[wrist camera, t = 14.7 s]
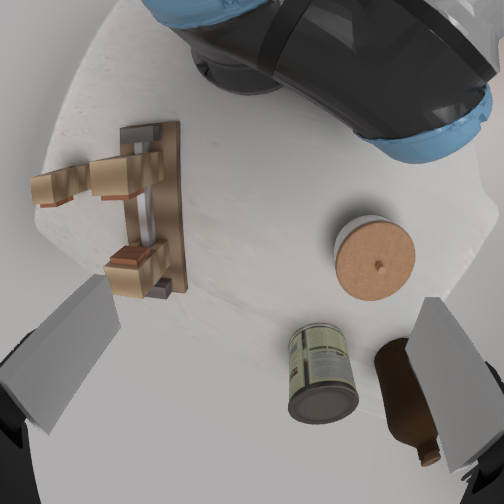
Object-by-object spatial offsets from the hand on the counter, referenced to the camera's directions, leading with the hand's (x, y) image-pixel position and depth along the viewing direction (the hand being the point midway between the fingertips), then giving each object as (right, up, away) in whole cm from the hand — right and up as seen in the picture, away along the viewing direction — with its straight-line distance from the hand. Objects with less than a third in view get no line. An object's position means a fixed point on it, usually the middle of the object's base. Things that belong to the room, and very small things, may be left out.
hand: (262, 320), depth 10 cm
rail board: (-15, +9, +29) cm, 34 cm away
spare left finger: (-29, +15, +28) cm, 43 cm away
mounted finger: (-15, +14, +25) cm, 33 cm away
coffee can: (+11, -14, +36) cm, 41 cm away
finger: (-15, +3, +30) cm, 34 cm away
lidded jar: (+16, +4, +28) cm, 32 cm away
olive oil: (+28, -18, +36) cm, 49 cm away
